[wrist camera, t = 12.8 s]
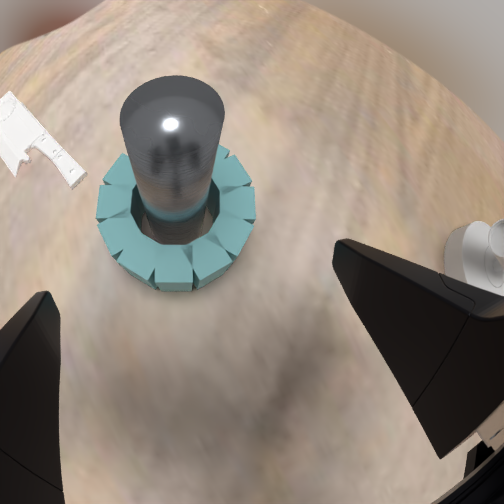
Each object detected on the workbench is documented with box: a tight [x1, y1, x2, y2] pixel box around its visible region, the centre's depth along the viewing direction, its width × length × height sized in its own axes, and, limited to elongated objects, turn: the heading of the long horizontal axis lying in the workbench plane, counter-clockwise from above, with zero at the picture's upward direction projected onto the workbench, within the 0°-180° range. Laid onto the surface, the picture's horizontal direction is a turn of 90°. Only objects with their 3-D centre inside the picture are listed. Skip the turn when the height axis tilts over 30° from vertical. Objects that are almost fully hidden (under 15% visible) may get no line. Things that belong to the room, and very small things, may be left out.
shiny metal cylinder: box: [120, 76, 225, 245], centre depth 15 cm, size 4×4×12 cm
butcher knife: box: [0, 91, 87, 189], centre depth 20 cm, size 5×15×1 cm, turn 50°
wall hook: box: [444, 219, 504, 296], centre depth 22 cm, size 9×10×10 cm
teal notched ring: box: [96, 144, 256, 291], centre depth 19 cm, size 9×9×4 cm
